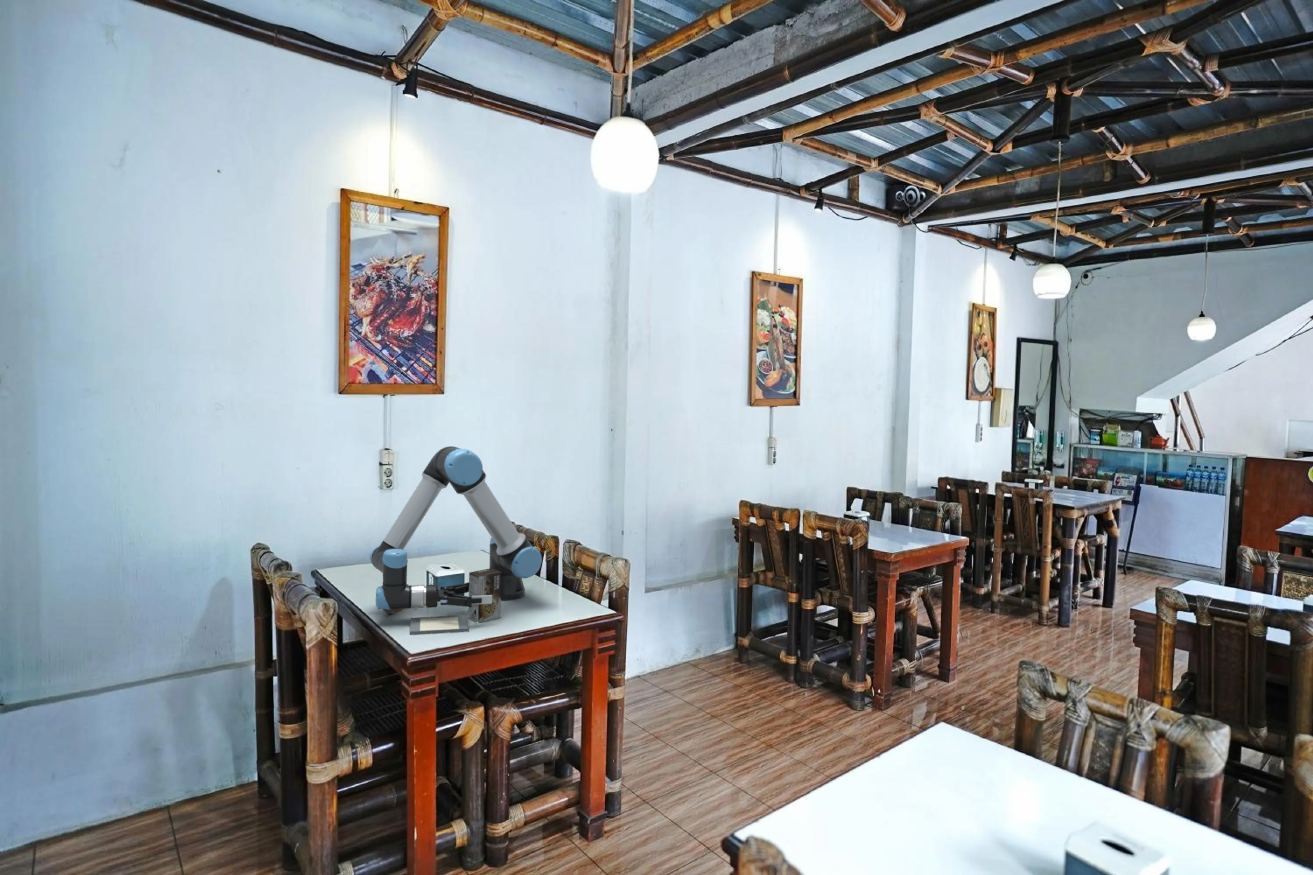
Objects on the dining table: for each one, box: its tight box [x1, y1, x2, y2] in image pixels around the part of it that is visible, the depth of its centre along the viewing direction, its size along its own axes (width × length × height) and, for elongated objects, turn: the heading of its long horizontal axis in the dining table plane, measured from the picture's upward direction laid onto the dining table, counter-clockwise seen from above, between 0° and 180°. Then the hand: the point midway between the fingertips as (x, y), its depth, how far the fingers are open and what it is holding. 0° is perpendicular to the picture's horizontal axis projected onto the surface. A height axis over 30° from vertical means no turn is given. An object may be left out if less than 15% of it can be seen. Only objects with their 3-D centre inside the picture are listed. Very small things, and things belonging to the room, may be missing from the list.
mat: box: [409, 614, 470, 636], centre depth 244 cm, size 18×14×1 cm
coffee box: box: [467, 567, 502, 624], centre depth 254 cm, size 9×6×16 cm
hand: (490, 593), depth 254 cm, fingers open, 13 cm apart
